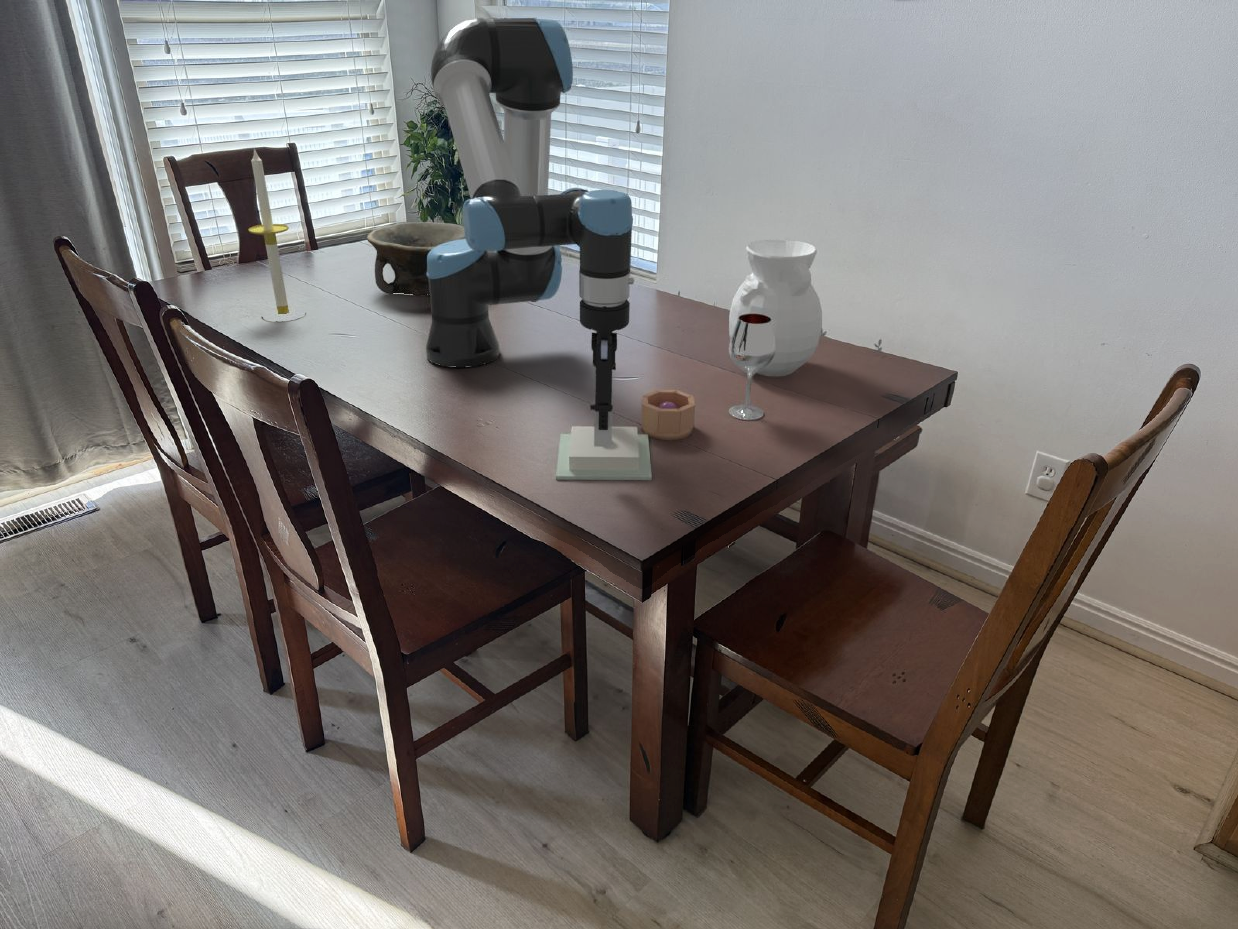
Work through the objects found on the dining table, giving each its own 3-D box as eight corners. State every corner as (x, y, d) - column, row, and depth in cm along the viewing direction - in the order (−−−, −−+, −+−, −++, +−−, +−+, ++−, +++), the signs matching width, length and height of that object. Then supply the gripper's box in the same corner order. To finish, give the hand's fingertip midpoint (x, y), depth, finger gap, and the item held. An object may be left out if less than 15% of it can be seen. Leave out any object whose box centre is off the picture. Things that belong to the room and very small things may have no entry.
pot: (642, 440, 148) (643, 410, 145) (640, 417, 156) (641, 389, 153) (694, 440, 148) (696, 411, 145) (690, 418, 156) (691, 390, 153)
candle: (271, 325, 197) (239, 152, 179) (254, 314, 204) (222, 147, 186) (313, 316, 203) (286, 148, 185) (295, 306, 210) (268, 143, 192)
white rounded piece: (709, 358, 182) (716, 240, 170) (783, 347, 188) (796, 232, 176) (755, 391, 167) (767, 263, 155) (834, 378, 173) (851, 254, 161)
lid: (569, 470, 137) (568, 446, 135) (572, 439, 146) (571, 416, 144) (638, 470, 137) (639, 446, 135) (636, 439, 146) (637, 417, 144)
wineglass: (720, 404, 161) (727, 311, 153) (763, 403, 162) (772, 310, 153) (728, 423, 154) (736, 326, 146) (773, 421, 155) (783, 326, 146)
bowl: (501, 286, 226) (498, 229, 219) (430, 313, 206) (424, 250, 199) (425, 270, 238) (420, 215, 231) (352, 294, 219) (344, 234, 212)
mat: (555, 479, 135) (555, 476, 135) (560, 437, 148) (560, 433, 148) (651, 480, 135) (651, 476, 135) (647, 437, 148) (647, 434, 148)
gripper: (631, 329, 118) (627, 463, 129) (628, 274, 140) (625, 393, 150) (576, 328, 118) (577, 463, 129) (582, 273, 140) (582, 393, 150)
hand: (603, 426), depth 140 cm, fingers open, 13 cm apart
